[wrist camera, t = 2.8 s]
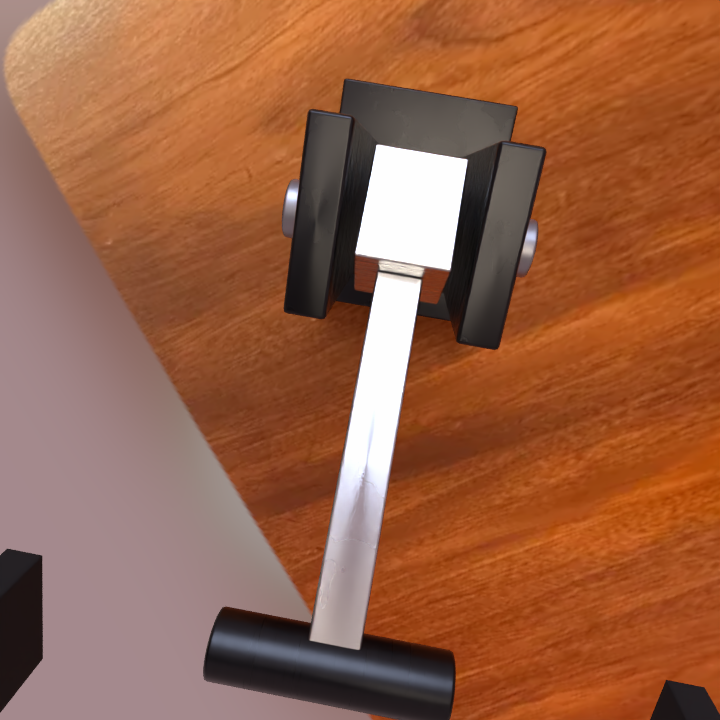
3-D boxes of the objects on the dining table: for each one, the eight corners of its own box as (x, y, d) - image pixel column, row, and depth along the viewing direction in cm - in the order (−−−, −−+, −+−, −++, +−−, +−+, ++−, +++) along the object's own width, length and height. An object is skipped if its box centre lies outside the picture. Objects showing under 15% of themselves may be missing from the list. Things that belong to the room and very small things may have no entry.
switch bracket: (467, 318, 27) (518, 450, 14) (317, 292, 27) (230, 397, 14) (513, 109, 24) (631, 29, 11) (347, 82, 25) (272, -27, 12)
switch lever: (436, 706, 13) (452, 752, 11) (219, 662, 13) (189, 698, 11) (504, 215, 16) (530, 168, 13) (321, 184, 16) (315, 132, 14)
